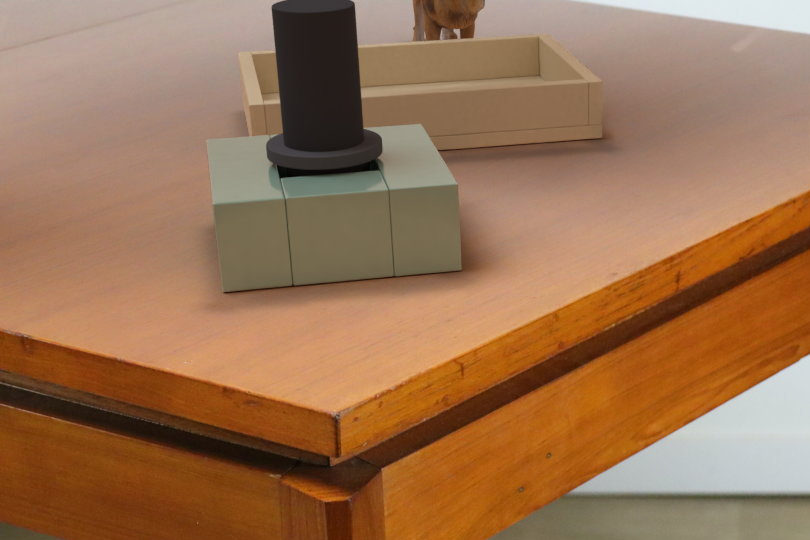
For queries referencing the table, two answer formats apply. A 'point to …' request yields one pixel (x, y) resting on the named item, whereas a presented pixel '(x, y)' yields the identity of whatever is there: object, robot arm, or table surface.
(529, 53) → the wooden tray
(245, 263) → the block
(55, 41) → the table surface
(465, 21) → the lion figurine
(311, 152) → the plug
